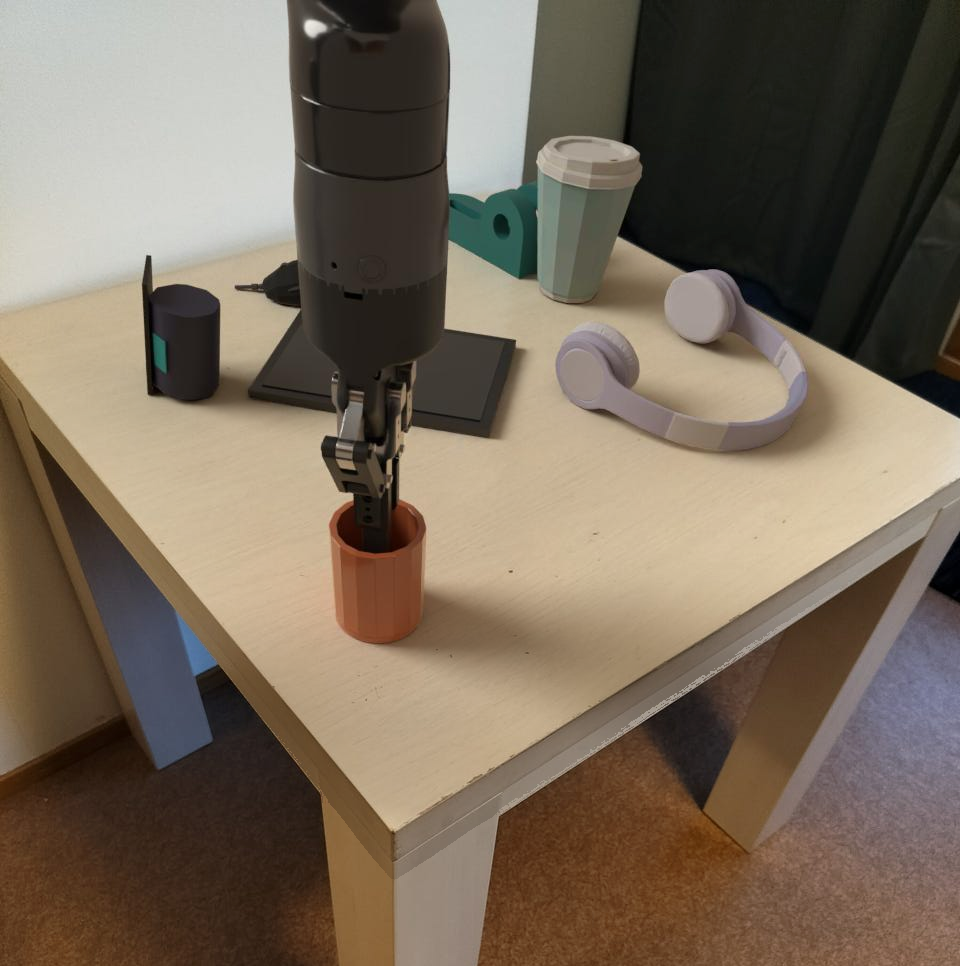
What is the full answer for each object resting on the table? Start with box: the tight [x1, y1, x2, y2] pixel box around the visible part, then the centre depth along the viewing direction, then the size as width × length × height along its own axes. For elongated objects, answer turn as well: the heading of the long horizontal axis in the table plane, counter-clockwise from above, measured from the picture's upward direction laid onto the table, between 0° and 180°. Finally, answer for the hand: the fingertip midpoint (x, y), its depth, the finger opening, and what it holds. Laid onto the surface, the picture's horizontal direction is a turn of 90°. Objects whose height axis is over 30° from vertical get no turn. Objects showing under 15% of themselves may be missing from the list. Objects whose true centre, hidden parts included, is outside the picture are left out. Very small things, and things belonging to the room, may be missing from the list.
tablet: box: [247, 309, 517, 439], centre depth 85 cm, size 22×16×1 cm
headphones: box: [554, 269, 809, 451], centre depth 84 cm, size 22×7×20 cm
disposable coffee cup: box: [535, 135, 643, 304], centre depth 93 cm, size 11×11×15 cm
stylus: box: [362, 458, 392, 554], centre depth 59 cm, size 2×2×13 cm
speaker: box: [141, 254, 221, 401], centre depth 78 cm, size 8×6×10 cm
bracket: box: [449, 180, 538, 280], centre depth 103 cm, size 18×7×8 cm, turn 42°
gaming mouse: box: [234, 259, 301, 307], centre depth 93 cm, size 6×15×4 cm, turn 88°
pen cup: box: [328, 498, 427, 644], centre depth 61 cm, size 6×6×8 cm
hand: (377, 515), depth 57 cm, fingers closed on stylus, 1 cm apart
